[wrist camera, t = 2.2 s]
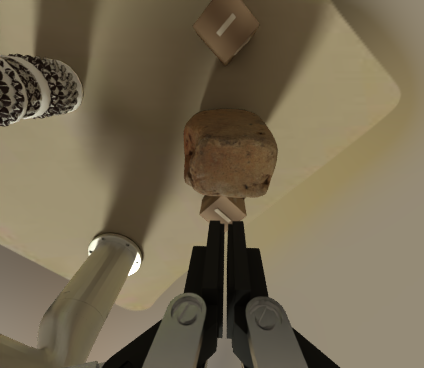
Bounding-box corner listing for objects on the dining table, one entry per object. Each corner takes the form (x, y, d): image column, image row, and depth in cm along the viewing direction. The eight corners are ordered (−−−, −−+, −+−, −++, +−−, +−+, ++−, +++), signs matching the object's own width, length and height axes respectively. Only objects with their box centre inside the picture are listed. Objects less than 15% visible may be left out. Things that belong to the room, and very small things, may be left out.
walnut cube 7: (226, 67, 35) (226, 64, 29) (197, 34, 33) (192, 25, 28) (255, 33, 33) (262, 24, 27) (227, -3, 31) (227, -21, 25)
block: (258, 109, 37) (289, 136, 19) (251, 152, 40) (273, 209, 22) (194, 105, 37) (165, 127, 19) (193, 147, 41) (167, 201, 22)
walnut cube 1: (223, 216, 47) (223, 235, 41) (202, 198, 45) (199, 215, 40) (245, 199, 45) (247, 216, 39) (224, 179, 43) (223, 194, 38)
